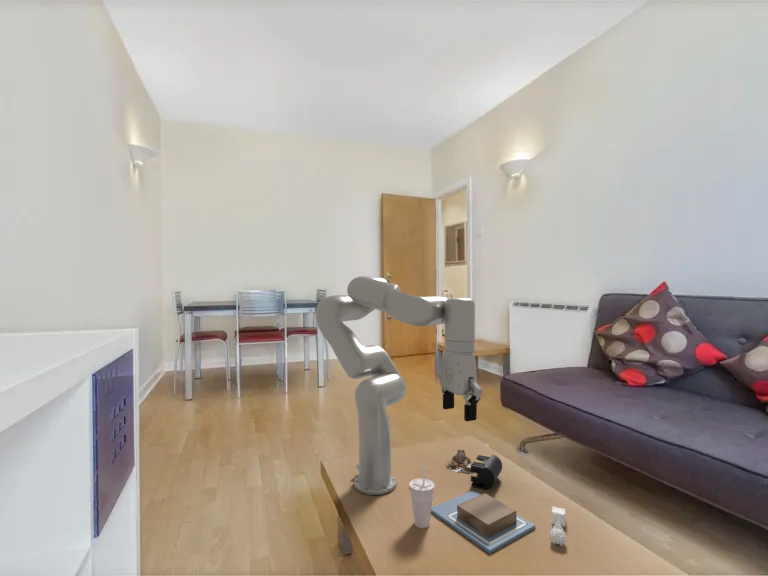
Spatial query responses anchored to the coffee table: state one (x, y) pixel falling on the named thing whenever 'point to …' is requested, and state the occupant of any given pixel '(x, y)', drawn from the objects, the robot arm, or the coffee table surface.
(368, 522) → the coffee table surface
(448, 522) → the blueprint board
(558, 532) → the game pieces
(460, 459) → the frog figurine
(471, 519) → the plinth
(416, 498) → the smoothie
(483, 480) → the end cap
